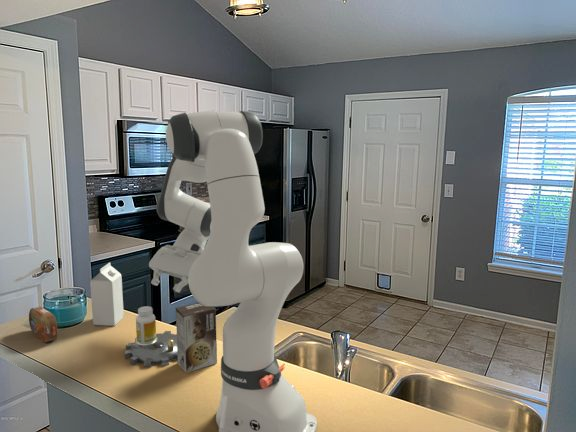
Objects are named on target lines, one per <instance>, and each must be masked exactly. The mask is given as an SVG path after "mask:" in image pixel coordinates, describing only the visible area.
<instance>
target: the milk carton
mask: <svg viewBox="0 0 576 432" xmlns="http://www.w3.org/2000/svg"><path fill="white" fill-rule="evenodd" d="M122 277H123V276H122V274H121V272H119V271H118V270H117V269H116V268H115V267H113V266H112V265H111V262H108V263H107V264H105V265H104V266H103V267H101V268H99V273H98V274H97V275H95V276H94V277H93V278H92V279H91V280H90V281H89V285H90V300H91V313H92V325H93V326H107V327H108V326H110V327H113V326H116V325H117V324H118V323H120V321H121V320H123V318H124V317H125V316H124V315H125V314H124V300H123V299H124V297H123V279H122Z"/></svg>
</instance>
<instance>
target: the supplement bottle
mask: <svg viewBox="0 0 576 432" xmlns="http://www.w3.org/2000/svg"><path fill="white" fill-rule="evenodd" d="M153 311H154V309H153V307H152V306H149V305H147V306H141V307H139V308H137V314H138V315H137V316H136V317H135V326H136V327H135V329H136V337H137V342H138V343H140V344H149V343H152V342H154V341H155V340H156V334H157V325H156V316H155V314H154V313H153Z"/></svg>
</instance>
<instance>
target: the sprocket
mask: <svg viewBox="0 0 576 432" xmlns="http://www.w3.org/2000/svg"><path fill="white" fill-rule="evenodd" d="M124 357H125V359H126V360H127V359H130V361H129V362H130V364H132V365H133V366H136V365H137V364H140V363H141V364H143V366H144V368H151V367H153V365H157V364H158V365H159V364H161V366H162V367H164V366H169V365H170V362H172V361H174V360H176V361H178V352H177V333H176V334H174V333H172V331H171V330H165V331H164V332H161V333H156V340H155V341H154V342H152V343H149V344H140V343H138V342H137V336H136V337H134V342H128V343H127V344H126V346H125V350H124Z"/></svg>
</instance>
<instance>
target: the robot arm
mask: <svg viewBox="0 0 576 432" xmlns="http://www.w3.org/2000/svg"><path fill="white" fill-rule="evenodd" d="M263 133H264V131H263V126H262V122H261V120H260V119H259V118H258V116H257V115H256V114H255V113H253V112H250V111H246V110H240V111H227V110H226V111H222V110H221V111H219V110H218V111H215V110H204V111H196V112H191V113H186V112H183V113H179V114H176V115H173V116H171V118H170V119H169V120H168V121H167V126H166V130H165V141H166V144H167V147H168V149H169V151H170V152H171V155H172V156H173V157H172V159H171V160H170V161H169V164H168V166H167V170H166V171H165V172H166V173H165V176H164V179H163V184H162V187H161V192H160V195H159V198H158V199H157V203H156V207H155V208H156V209H155V210H156V213H157V214H158V217H159V219H160V220H163V221H168V222H170V223H173V224H175V225H178V226H180V227H183V228H184V229H183V230H182V231H181V232H180V233H179V234H178V235H177V238H176V240H175V241H174V242H173V245H171V244H166V245H164V246H161V247H160V249H158V250H157V251H156V253H155V254H154V255H153V257H152V258H151V259H150V261H149V262H148V267H149V268H150V269H151V270H153V278H152V279H151V281H150V282H151V283H150V284H152V285H153V286H158V285H159V284H160V282H161V281H160V276H162V275H163V274H164V275H169V276H170V277H171V276H172V277H175V278H179V279H181V281H179V282H178V283H175V284H174V286H173V288H172V290H173V291H174V292H177V293H180V292H181V291H182V289H183V288H184V287H185V286H187V285H188V287H189V291H190V293H191V295H192V297H193V298H194V299H195V300H196V302H197V303H200V304H202V305H203V306H213V307H225V306H226V307H227V306H228V307H229V306H232V305H235V304H238V303H239V305H238V307H236V308H235V310H234V311H233V312H232V313H231V314H230V315H228V317H227V318H226V319H225V322H224V324H223V327H222V356H221V358H220V359H221V360H220V376H221V379H222V383H221V393H220V398H219V405H218V407H217V410H216V413H215V414H216V415H215V421H216V424H217V427H218V432H316V431H317V427H318V423H317V418H316V416H314V415H313V414H311V413H309V412H307V404H306V400H305V399H304V397H303V395H301V393H299V392H298V390H296V387H295V386H294V385H293V384H291V383H290V382H289V381H288V380H287V379H286V378H285V377H284V376H283V375H282V372H283V371H284V370H285V368H286V367H285V363H282V364H281V365H280V366H279V363H278V360H277V357H276V354H275V341H276V340H275V339H276V328H277V323H278V319H279V315H280V314H281V313H280V312H281V310H282V308H283V306H284V304H285V301H286V299H287V298H288V296H289V294H290V293H291V291H292V290H293V289H294V287H296V285H297V284H299V282H300V281H301V279H302V277H303V275H304V259H303V256H302V254H301V253H300V251H299V250H298V248H297V247H296V246H294V245H293V244H292V243H288V242H278V241H277V242H276V241H274V242H273V241H272V242H270V241H269V242H264V243H263V242H262V243H258V244H253V245H251V244H250V245H249V238H250V233H251V231H252V228H253V227H255V226H256V225H257V224H259V222H260V221H261V220H262V219H263V217H264V214H265V210H266V207H265V201H264V195H263V189H262V184H261V183H262V182H261V178H260V174H259V167H258V163H257V160H256V157H255V154H257V153H259V151H260V149H261V147H262V145H263V139H264V134H263ZM182 181H183V182H190V183H196V184H197V183H206V185H207V186H206V187H207V193H208V197H209V198H208V199H209V202H206V201H204V200H201V199H198V198H196V197H194V196H192V195H190V194H187V193H185V192H183V190H181V189H180V187H181V183H182Z"/></svg>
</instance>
